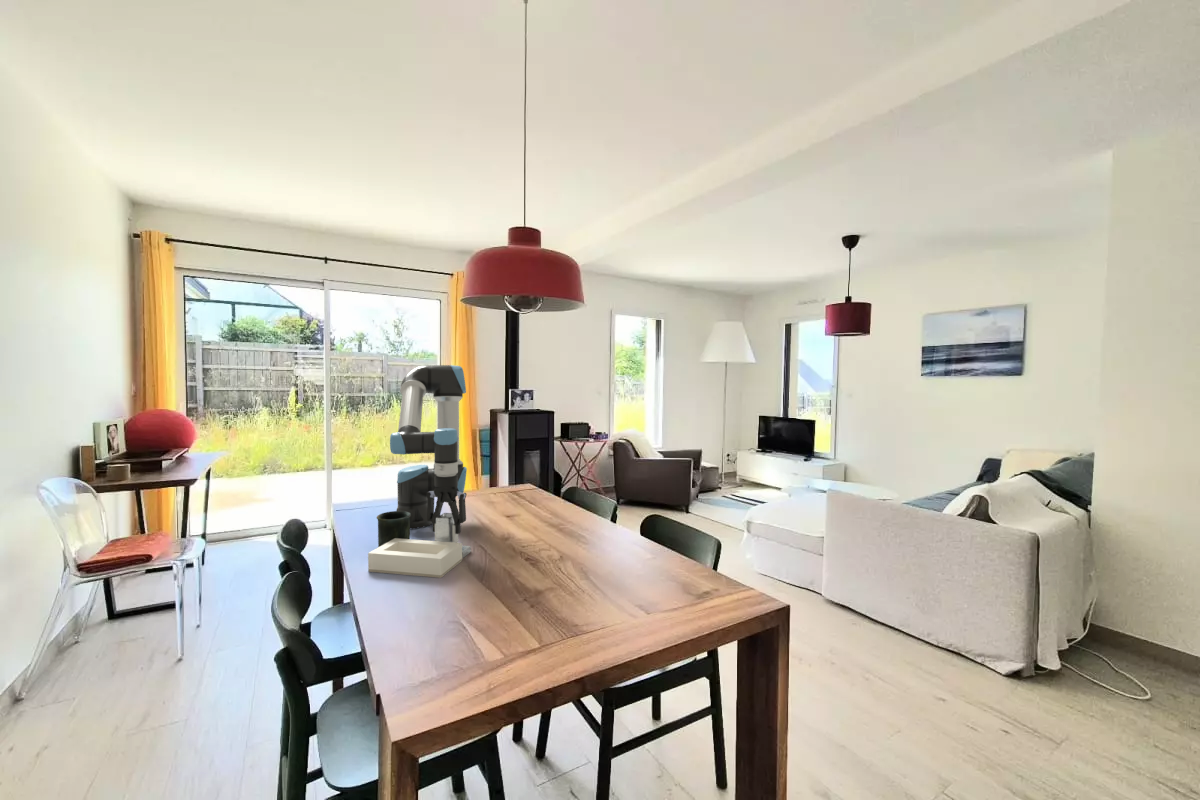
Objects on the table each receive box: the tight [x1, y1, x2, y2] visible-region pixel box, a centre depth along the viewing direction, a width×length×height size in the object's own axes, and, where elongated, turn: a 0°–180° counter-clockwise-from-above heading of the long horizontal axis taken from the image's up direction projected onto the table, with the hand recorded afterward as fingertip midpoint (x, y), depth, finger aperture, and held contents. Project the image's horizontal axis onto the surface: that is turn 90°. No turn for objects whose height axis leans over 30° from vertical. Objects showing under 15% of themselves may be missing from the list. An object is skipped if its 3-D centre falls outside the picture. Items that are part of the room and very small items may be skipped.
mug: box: [376, 510, 411, 548], centre depth 170 cm, size 11×15×12 cm
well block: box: [367, 538, 463, 579], centre depth 155 cm, size 14×24×6 cm, turn 80°
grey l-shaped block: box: [436, 512, 472, 559], centre depth 165 cm, size 6×10×13 cm, turn 80°
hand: (446, 542), depth 166 cm, fingers open, 6 cm apart
